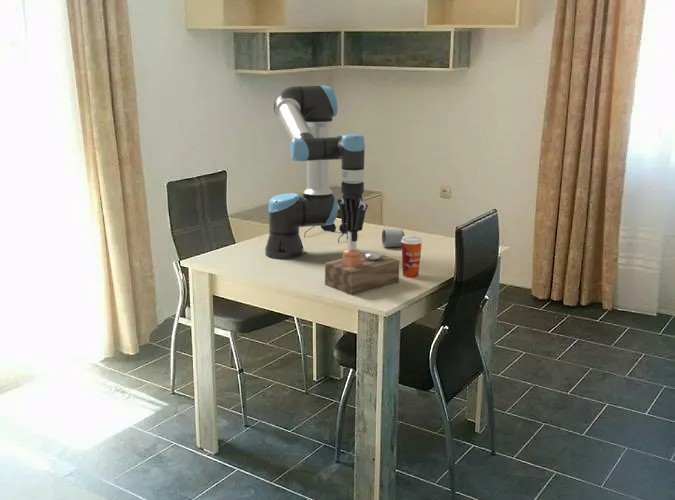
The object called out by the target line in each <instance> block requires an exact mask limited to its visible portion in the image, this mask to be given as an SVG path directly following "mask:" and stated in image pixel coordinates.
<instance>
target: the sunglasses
mask: <svg viewBox="0 0 675 500" xmlns="http://www.w3.org/2000/svg"><path fill="white" fill-rule="evenodd" d="M315 227H316V226H311V227H310V228H309V229H307V230H305V232H304V237H303V238H306V234H307V232H308V231H310V230H311V229H313V228H315ZM320 228H321V230H323V231H324V232H331V233H334V232H337V228H338V231H339V232H340V233H341V235H339V237H338V239H337V243H338V244H339V243H340V238H341V237H343V236H345V235H347V231H346V229H345V228H343V227H342V223H341V224H340V225H339V226H338V225H337V226H336V224H335V223H333V224H331V225H324V226H320Z"/></svg>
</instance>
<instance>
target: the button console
mask: <svg viewBox="0 0 675 500" xmlns="http://www.w3.org/2000/svg"><path fill="white" fill-rule="evenodd" d="M365 253H366V252H365ZM365 253H360V255H361V265H358V266H354V267H349V266H346V265H343V258H339V259H336V260H331V261H328V262H326V261H325V263H324V285H325V286H327V287H330V288H332V289H334V290H337V291H340V292H343V293H344V294H347V295H349V296H353V295H356V294H357V295H358V294H361V293H363V292H364V293H365V292H368V291H371V290H375V289H379V288H382V287H383V288H384V287H386V286H391V285H393V284H397V283H399V282H400V260H399V259H396V258H393V257H390V256H387V255H384V254H381V259H382V260H378V261H374V262H372V261H369V260H366V259H364V258H365Z"/></svg>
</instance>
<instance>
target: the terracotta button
mask: <svg viewBox="0 0 675 500" xmlns="http://www.w3.org/2000/svg"><path fill="white" fill-rule="evenodd" d="M360 254H361V249H359V248H356V250H352V251H349V250H347V248H345V249H343V254H342V259H343V265H346V266H349V267H354V266H358V265H361V255H360Z"/></svg>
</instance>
